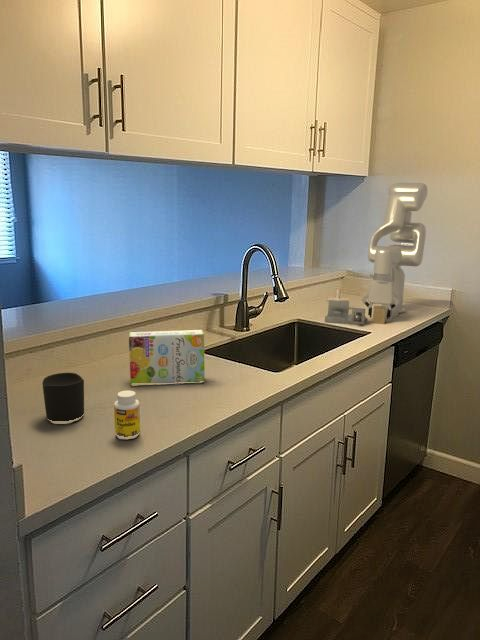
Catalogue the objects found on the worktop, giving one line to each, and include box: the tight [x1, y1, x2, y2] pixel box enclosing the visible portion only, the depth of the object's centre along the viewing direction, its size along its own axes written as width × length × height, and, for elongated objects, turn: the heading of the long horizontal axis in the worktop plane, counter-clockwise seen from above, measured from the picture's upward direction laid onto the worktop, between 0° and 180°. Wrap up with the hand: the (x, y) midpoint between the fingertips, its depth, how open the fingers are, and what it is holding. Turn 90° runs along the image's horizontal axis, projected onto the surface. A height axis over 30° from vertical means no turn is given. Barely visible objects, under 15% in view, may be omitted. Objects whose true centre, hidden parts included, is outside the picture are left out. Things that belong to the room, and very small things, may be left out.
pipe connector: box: [326, 289, 350, 303], centre depth 253 cm, size 10×10×10 cm
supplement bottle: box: [113, 390, 141, 437], centre depth 119 cm, size 6×6×10 cm
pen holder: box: [42, 372, 85, 421], centre depth 127 cm, size 9×9×10 cm
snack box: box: [128, 329, 205, 385], centre depth 152 cm, size 21×6×15 cm, turn 100°
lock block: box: [371, 305, 386, 325], centre depth 231 cm, size 7×5×6 cm
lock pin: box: [354, 312, 362, 321], centre depth 228 cm, size 14×4×4 cm, turn 163°
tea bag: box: [385, 294, 399, 319], centre depth 243 cm, size 4×7×10 cm, turn 137°
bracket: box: [324, 300, 367, 326], centre depth 232 cm, size 12×17×8 cm
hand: (379, 317), depth 232 cm, fingers open, 6 cm apart
